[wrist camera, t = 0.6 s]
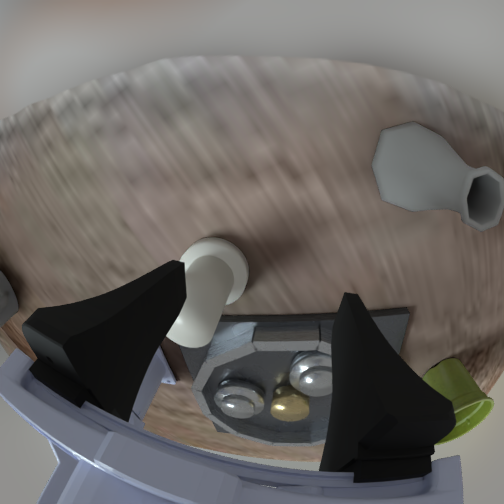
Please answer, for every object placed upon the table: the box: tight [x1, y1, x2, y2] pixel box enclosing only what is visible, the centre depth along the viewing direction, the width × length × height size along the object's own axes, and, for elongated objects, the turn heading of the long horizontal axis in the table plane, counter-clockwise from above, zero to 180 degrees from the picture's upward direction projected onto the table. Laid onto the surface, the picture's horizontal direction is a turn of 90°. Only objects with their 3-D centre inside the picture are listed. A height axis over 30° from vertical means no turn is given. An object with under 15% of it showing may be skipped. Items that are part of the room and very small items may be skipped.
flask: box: [372, 122, 504, 232], centre depth 13 cm, size 7×7×10 cm
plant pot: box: [423, 358, 494, 445], centre depth 22 cm, size 9×9×9 cm
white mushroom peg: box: [166, 237, 249, 348], centre depth 21 cm, size 6×6×8 cm
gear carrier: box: [179, 307, 410, 446], centre depth 29 cm, size 24×24×4 cm
